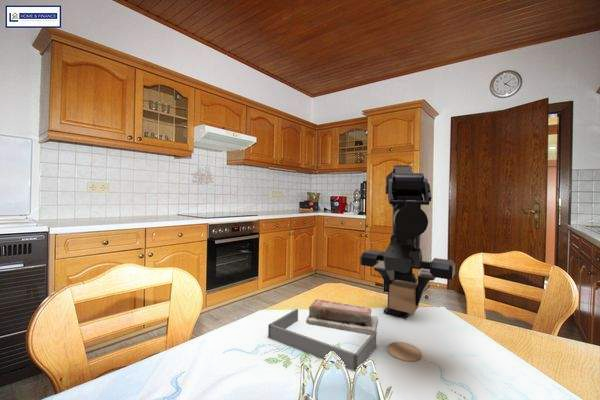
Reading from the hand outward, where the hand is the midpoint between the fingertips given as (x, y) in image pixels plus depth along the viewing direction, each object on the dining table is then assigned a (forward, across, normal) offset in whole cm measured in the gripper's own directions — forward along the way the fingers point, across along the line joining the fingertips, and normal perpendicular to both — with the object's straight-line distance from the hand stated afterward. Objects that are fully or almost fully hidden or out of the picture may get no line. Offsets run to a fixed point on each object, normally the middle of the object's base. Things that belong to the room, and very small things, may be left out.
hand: (404, 302), depth 61 cm
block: (+1, 0, 0) cm, 1 cm away
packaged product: (+12, -17, +6) cm, 22 cm away
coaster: (+11, 0, 0) cm, 11 cm away
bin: (+11, -17, -7) cm, 21 cm away
